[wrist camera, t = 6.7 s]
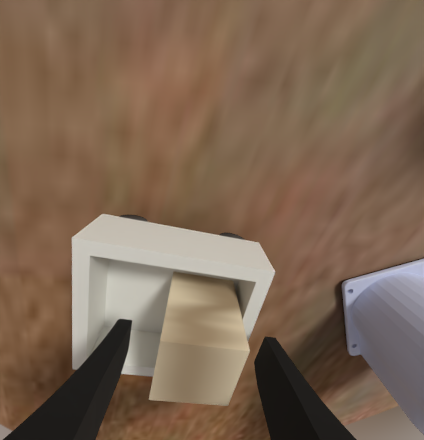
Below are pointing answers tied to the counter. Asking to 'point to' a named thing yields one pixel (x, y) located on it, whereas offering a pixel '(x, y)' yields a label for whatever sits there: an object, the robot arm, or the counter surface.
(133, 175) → the counter surface
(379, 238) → the counter surface
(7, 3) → the counter surface
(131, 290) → the white open storage bin
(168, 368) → the block
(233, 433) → the counter surface
